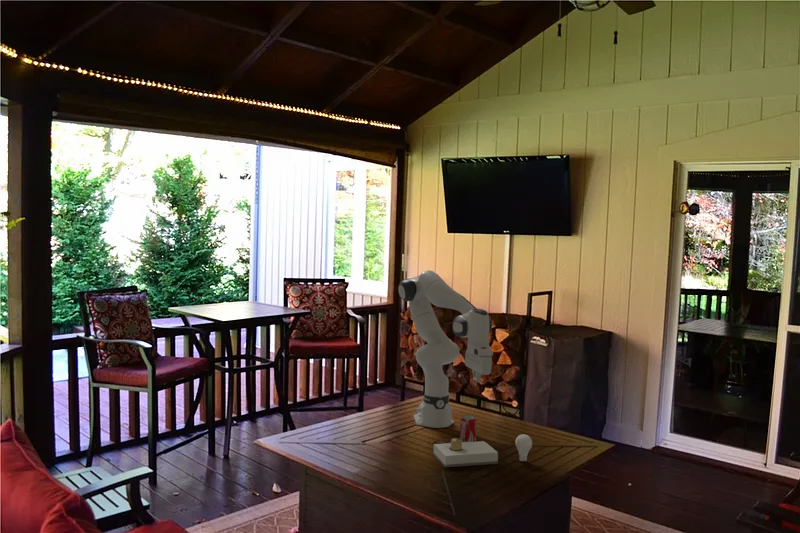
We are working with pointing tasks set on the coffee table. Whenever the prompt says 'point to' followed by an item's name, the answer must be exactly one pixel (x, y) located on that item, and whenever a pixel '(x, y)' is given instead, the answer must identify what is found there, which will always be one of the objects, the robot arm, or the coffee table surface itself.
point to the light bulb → (523, 446)
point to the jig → (466, 454)
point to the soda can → (468, 428)
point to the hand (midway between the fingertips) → (476, 381)
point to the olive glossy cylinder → (456, 444)
